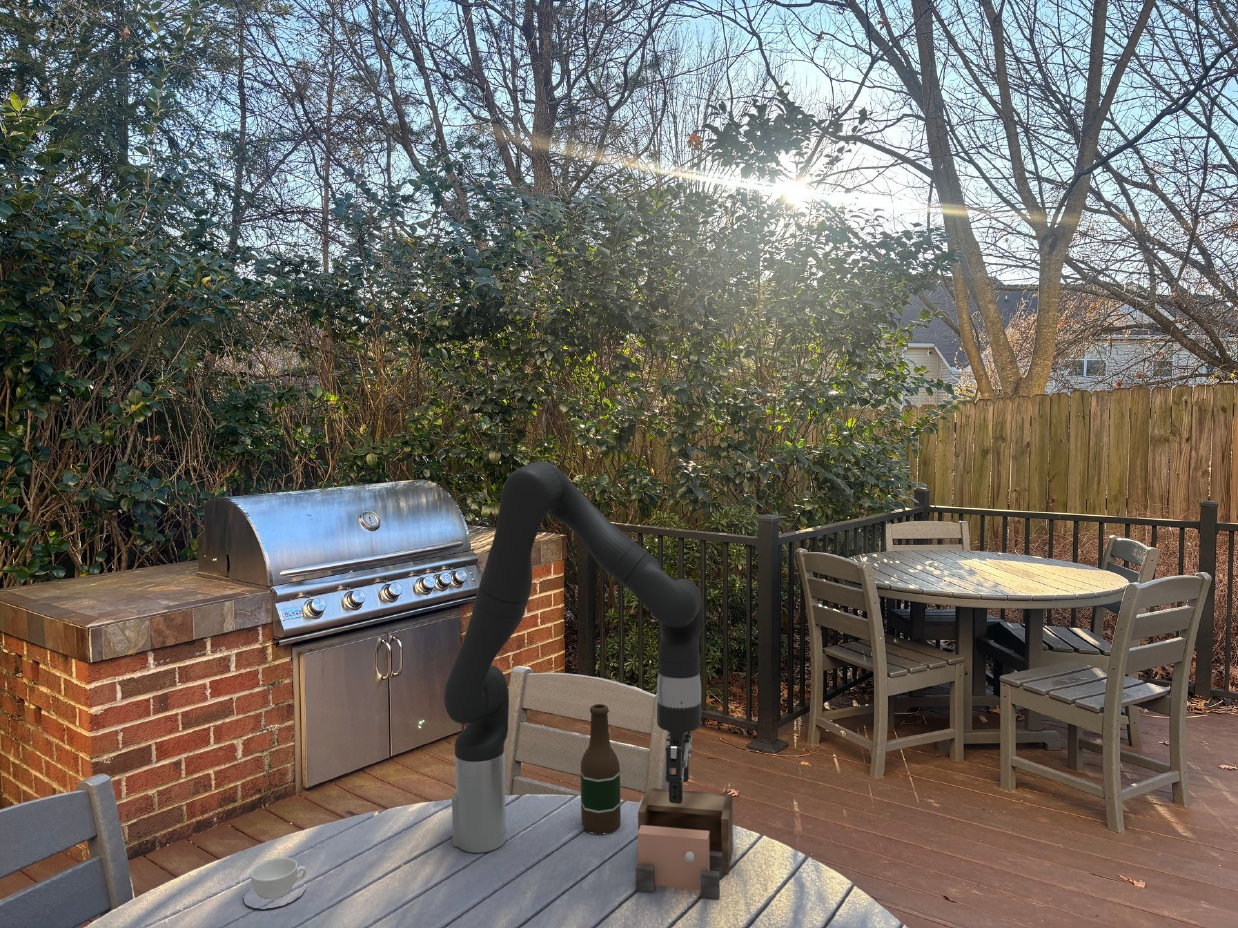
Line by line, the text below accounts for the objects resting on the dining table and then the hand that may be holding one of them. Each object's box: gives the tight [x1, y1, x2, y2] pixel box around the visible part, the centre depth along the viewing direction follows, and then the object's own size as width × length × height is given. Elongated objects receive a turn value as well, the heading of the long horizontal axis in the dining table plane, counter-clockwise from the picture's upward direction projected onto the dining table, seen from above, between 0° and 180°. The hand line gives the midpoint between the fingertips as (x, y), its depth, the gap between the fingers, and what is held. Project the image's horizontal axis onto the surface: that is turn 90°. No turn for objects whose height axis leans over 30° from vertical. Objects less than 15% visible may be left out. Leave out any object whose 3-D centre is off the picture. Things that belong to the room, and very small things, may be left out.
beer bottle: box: [580, 703, 622, 835], centre depth 166 cm, size 8×8×24 cm
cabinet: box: [635, 787, 734, 901], centre depth 151 cm, size 16×18×10 cm
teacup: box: [250, 857, 307, 899], centre depth 144 cm, size 10×10×5 cm
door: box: [637, 825, 710, 891], centre depth 145 cm, size 12×4×9 cm, turn 78°
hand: (679, 791), depth 145 cm, fingers open, 8 cm apart
